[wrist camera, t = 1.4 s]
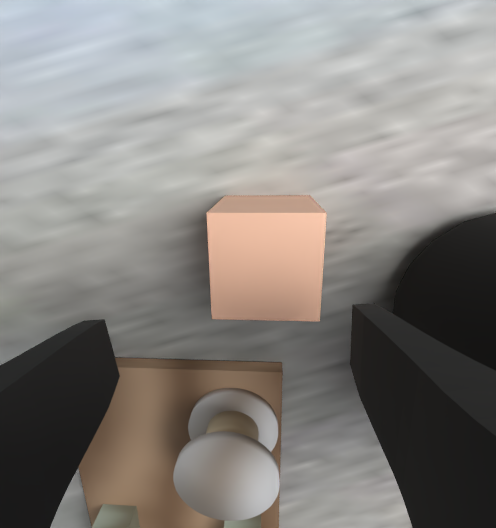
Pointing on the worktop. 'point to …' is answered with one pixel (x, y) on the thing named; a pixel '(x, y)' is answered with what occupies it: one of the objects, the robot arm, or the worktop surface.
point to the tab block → (266, 257)
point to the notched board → (163, 435)
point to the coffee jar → (455, 290)
